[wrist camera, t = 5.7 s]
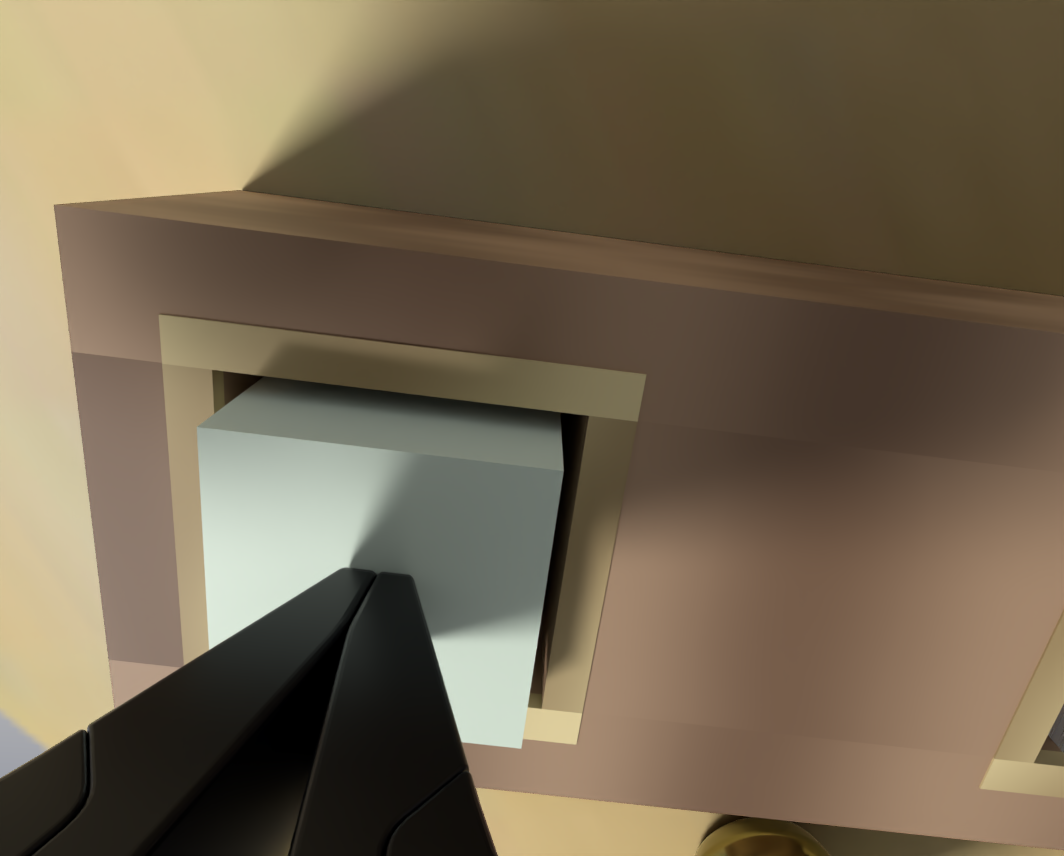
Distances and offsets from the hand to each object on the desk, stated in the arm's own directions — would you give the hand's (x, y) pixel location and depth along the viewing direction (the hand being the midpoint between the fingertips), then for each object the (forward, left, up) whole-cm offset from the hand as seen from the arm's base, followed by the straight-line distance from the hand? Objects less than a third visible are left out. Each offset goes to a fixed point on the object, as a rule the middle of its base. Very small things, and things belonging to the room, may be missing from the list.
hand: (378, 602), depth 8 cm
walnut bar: (-6, 0, -6) cm, 8 cm away
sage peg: (0, 0, -5) cm, 5 cm away
